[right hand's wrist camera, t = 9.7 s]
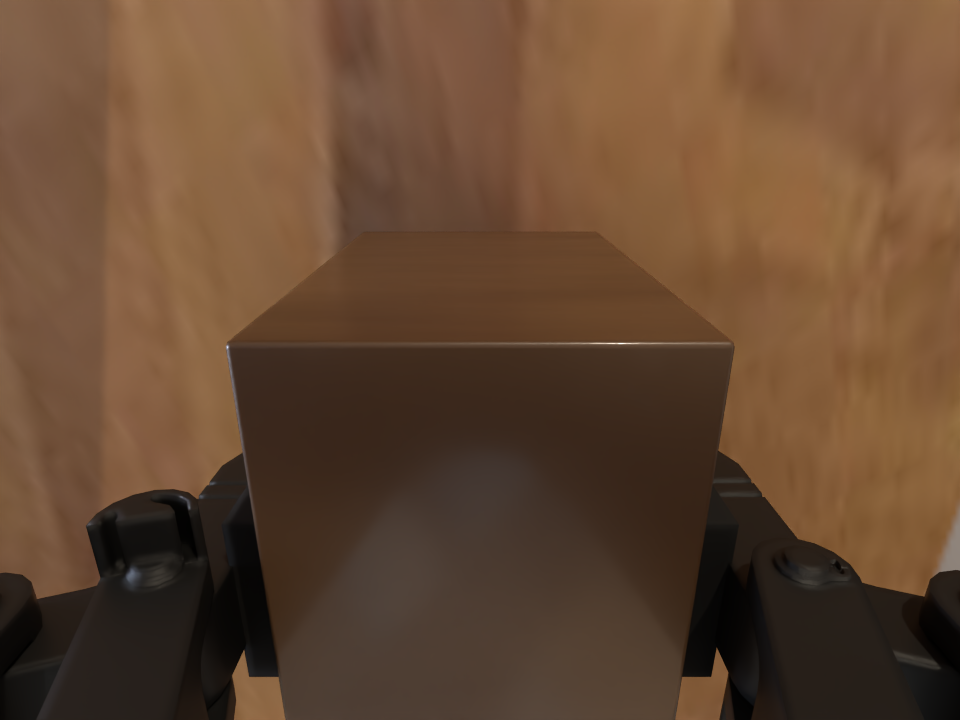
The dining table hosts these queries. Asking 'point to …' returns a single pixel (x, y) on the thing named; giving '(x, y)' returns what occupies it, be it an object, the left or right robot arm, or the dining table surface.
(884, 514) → the dining table surface
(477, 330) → the beam
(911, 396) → the dining table surface
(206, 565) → the right robot arm
